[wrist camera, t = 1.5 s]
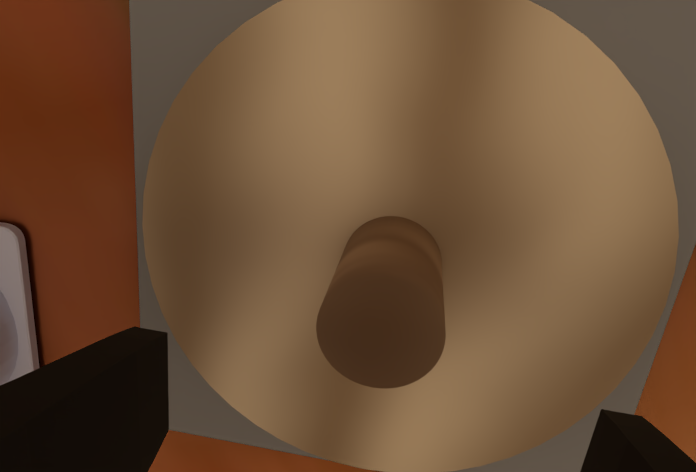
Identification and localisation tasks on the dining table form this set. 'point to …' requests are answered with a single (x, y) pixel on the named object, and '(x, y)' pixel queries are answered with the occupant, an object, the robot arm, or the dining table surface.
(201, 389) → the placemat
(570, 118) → the lid
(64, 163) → the dining table surface
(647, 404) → the dining table surface
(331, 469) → the dining table surface
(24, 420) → the robot arm
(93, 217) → the dining table surface
